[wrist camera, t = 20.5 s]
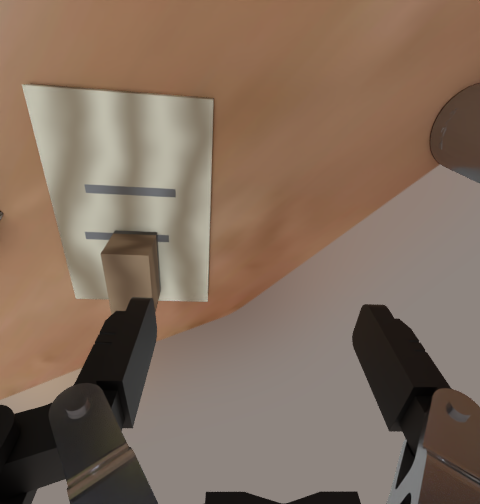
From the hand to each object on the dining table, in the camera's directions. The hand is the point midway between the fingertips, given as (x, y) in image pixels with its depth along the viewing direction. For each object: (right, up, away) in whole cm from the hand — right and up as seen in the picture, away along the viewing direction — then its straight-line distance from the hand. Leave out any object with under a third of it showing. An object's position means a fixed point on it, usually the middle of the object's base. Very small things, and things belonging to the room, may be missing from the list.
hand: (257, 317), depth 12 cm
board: (-13, +8, +26) cm, 30 cm away
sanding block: (-14, +1, +28) cm, 31 cm away
